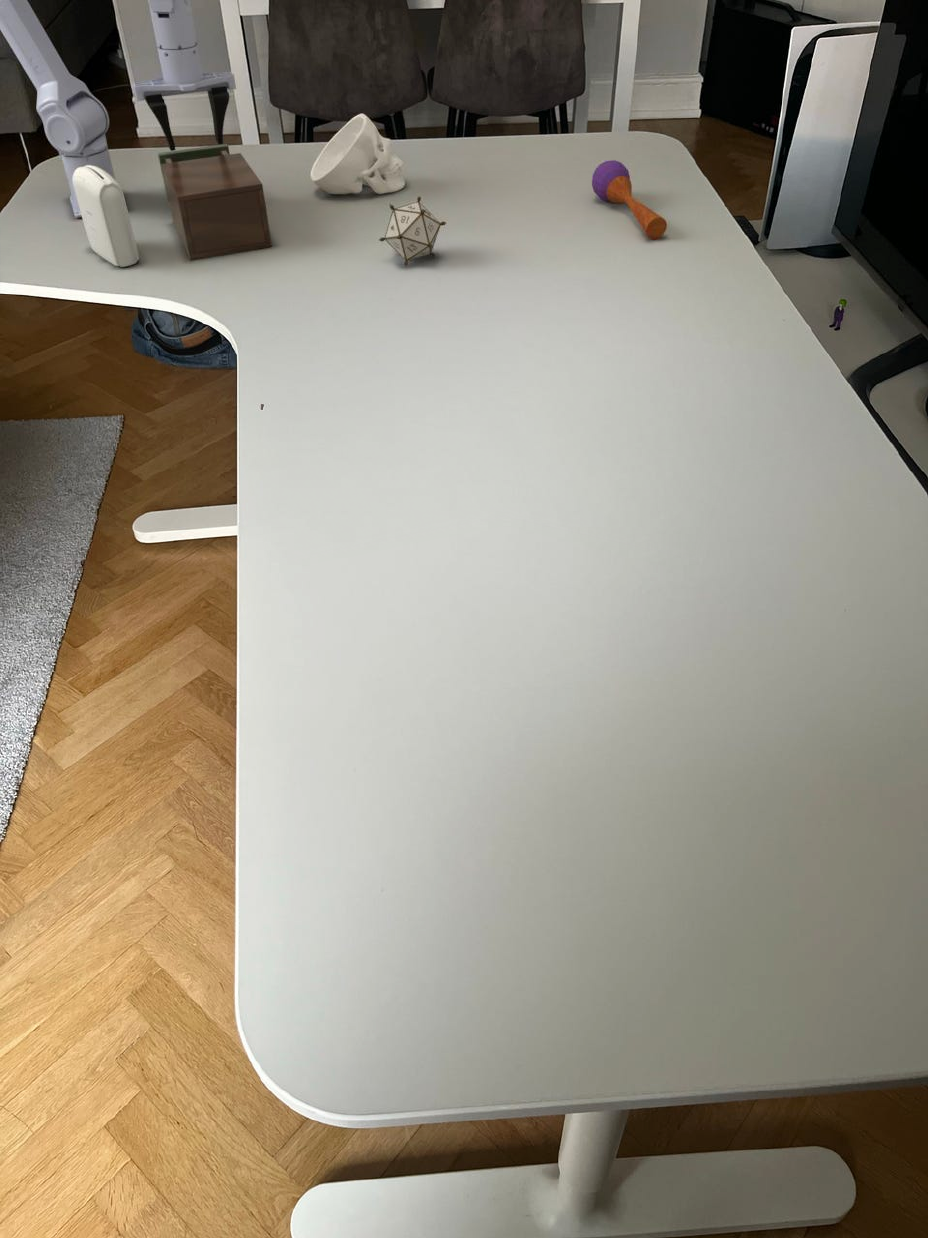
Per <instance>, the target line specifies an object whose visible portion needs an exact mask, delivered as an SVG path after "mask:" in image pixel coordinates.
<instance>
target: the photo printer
mask: <svg viewBox="0 0 928 1238" xmlns="http://www.w3.org/2000/svg"><path fill="white" fill-rule="evenodd" d="M72 181H73V186H74V190H75V193H76V197H77V201H78V204H79V208H80V211H81V215H82V217H81V218H82V222H83V225H84V229H85V232H86V235H87V239H88V243H89V246H90V247H91V249H92V251H93V252H95V253H96V254H97V255H98V256H100V257H101V258H103V259H104V260H106V261H107V262H109V263H110V264H112V265H114V266H115V267H121V268H123V267H124V268H126V267H129V266H132V265H135V264H137V263H138V261H139V260H140V254H139V250H138V246H137V243H136V239H135V234H134V230H133V226H132V222H131V219H130V215H129V211H128V206H127V203H126V199H125V194H124V191H123V189H122V187H121V186H120V184H119V183H118V182H117V180H116V181H115V180H114V179H113V178H112V177H111V176H110V175H109V174H108V173H107V172H105V171H104V170H102V169H100V168H98V167H96V166H92V165H86V166H84V167H79V168H77V169H76V170H75V172H74V174H73V178H72Z"/></svg>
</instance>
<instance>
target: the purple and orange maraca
mask: <svg viewBox="0 0 928 1238" xmlns="http://www.w3.org/2000/svg"><path fill="white" fill-rule="evenodd" d="M594 169H595V170H594V171H593V174H592V178H591V187H592V190H593V193H594V194H595V195H596V196H597V197H598V198H599V200H602V201H605V202H611V203H613V204H622V203H623V204H626V205H627V207H628V208H629V210H630V212H631V213H632V215H633V216H634V218H635V219H636V221H637V222H638V224H639V226H640V228H641V229H642V231H643V232H644V234H645V235H646V237H647V238H648V239H649V240H658V239H660V238H662V237H663V235H664V234H665V232H666V231H667V228H668V227H667V226H668V223H667V220H666V219H665V217H662V216H661V215H659V214H658V213H656V212H655V211H653V210H652V209H650V208H649V207H648V206H646V205H645V204H643V203H642V202H641V201H639V200H638V199H636V198H634V197H633V196H632V195H633V194H632V192H633V191H632V190H633V189H632V188H633V187H632V185H633V184H632V181H631V175H630V171H629V169H628V168H627V167H626V166H625V165H624V163H622V162H621V161H618V160H616V159H613V160H605V161H603V162H601V163H599V164H598V165H597V167H596V168H594Z"/></svg>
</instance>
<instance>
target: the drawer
mask: <svg viewBox="0 0 928 1238" xmlns="http://www.w3.org/2000/svg"><path fill="white" fill-rule="evenodd" d="M230 154H231V153H230V149H229V145H228V144H227V143H223V144H215V145H209V146H202V147H201V146H200V147H193V148H187V149H180V150H179V149H178V150H174V151H171V150H170V151H165V152H157V156H158V161H159V166H160V170H161V175H162V180H163V185H164V189H165V194H166V197H167V202H168V203H169V200H168V195H167V191H166V186H165V181H164V177H163V172H162V167H161V164H166V163H173V162H180V161H187V160H194V159H201V158H209V157H216V156H223V155H230Z"/></svg>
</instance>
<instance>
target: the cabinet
mask: <svg viewBox="0 0 928 1238" xmlns="http://www.w3.org/2000/svg"><path fill="white" fill-rule="evenodd" d="M161 167H162V171H161V173H162V172H163V176H162V178H163V177H164V181H165V185H164V187H165V186H166V190H165V192H166V191H167V195H168V199H167V201H168V200H169V202H168V204H169V205H168V206H169V208H170V213H171V214H170V215H171V219H172V223H173V227H174V228H175V231H176V233H177V235H178V237H179V239H180V241H181V243H182V245H183V247H184V250H185V252H186V254H187V256H188V258H189V260H190V261H194V260H200V259H206V258H212V257H218V256H219V257H220V256H224V255H229V254H236V253H242V252H249V251H254V250H261V249H265V248H271V247H272V245H273V244H272V238H271V232H270V225H269V219H268V213H267V205H266V199H265V198H266V197H265V192H264V186H263V183H262V181H261V180H260V179H259V177H258V176H257V174H256V172H255V171H254V170H253V168H252V167H251V166H250V164H249V163H248V162H247V160H246V158H245V157H244V156H243V155H242V153H241V152H238V153H230V155H223V156H216V157H209V158H201V159H194V160H187V161H180V162H173V163H166V164H161V166H160V168H161ZM164 181H163V182H164ZM167 195H166V196H167Z"/></svg>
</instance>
